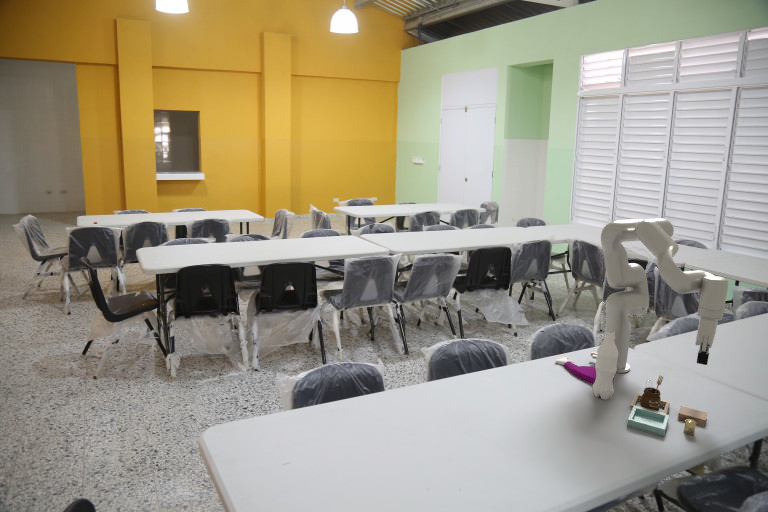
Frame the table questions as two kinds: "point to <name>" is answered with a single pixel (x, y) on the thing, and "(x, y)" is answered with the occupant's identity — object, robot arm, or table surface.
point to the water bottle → (606, 366)
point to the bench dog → (689, 427)
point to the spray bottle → (579, 370)
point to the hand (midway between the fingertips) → (701, 363)
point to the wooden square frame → (662, 403)
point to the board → (692, 415)
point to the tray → (648, 421)
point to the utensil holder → (651, 396)
